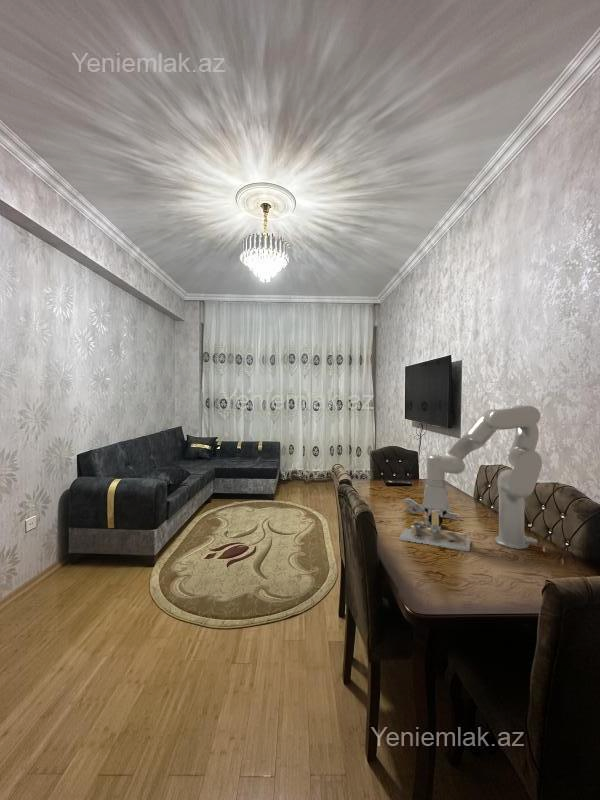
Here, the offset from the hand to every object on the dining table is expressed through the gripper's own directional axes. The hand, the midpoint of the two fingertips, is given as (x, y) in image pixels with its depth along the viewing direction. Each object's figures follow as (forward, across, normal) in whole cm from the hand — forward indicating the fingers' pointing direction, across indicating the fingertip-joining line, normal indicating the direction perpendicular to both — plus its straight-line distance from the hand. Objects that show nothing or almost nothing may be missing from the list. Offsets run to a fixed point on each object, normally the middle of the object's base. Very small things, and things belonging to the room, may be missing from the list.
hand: (435, 524), depth 163 cm
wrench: (+7, +6, -33) cm, 34 cm away
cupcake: (+7, +3, -17) cm, 19 cm away
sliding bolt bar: (+5, -1, +1) cm, 5 cm away
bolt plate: (+7, 0, +3) cm, 7 cm away
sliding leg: (+5, 0, +1) cm, 5 cm away
